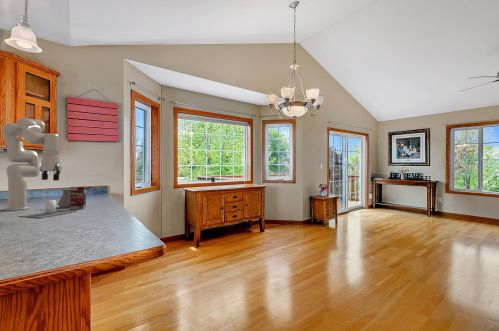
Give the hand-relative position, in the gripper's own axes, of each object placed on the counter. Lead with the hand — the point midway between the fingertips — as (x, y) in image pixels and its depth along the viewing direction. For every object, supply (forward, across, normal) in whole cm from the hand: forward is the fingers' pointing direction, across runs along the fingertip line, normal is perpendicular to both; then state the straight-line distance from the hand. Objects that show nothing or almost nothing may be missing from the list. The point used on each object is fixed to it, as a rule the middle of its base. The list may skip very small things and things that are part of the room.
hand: (50, 180), depth 154 cm
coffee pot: (+22, -12, +27) cm, 37 cm away
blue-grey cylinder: (+21, +1, 0) cm, 21 cm away
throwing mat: (+22, 0, 0) cm, 22 cm away
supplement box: (+22, -1, +20) cm, 30 cm away
